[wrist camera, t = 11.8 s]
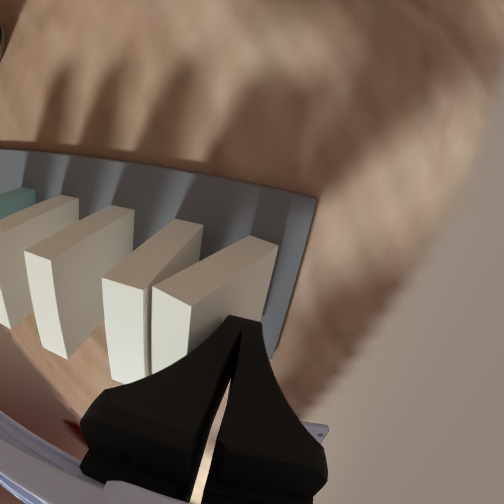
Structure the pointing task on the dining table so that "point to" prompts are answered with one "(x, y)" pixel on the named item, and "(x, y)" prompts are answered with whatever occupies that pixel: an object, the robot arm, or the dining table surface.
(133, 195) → the charcoal mat
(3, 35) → the green drink can
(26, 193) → the teal domino
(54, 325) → the ivory domino
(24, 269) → the ivory domino
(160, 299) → the ivory domino
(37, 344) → the dining table surface
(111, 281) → the ivory domino
